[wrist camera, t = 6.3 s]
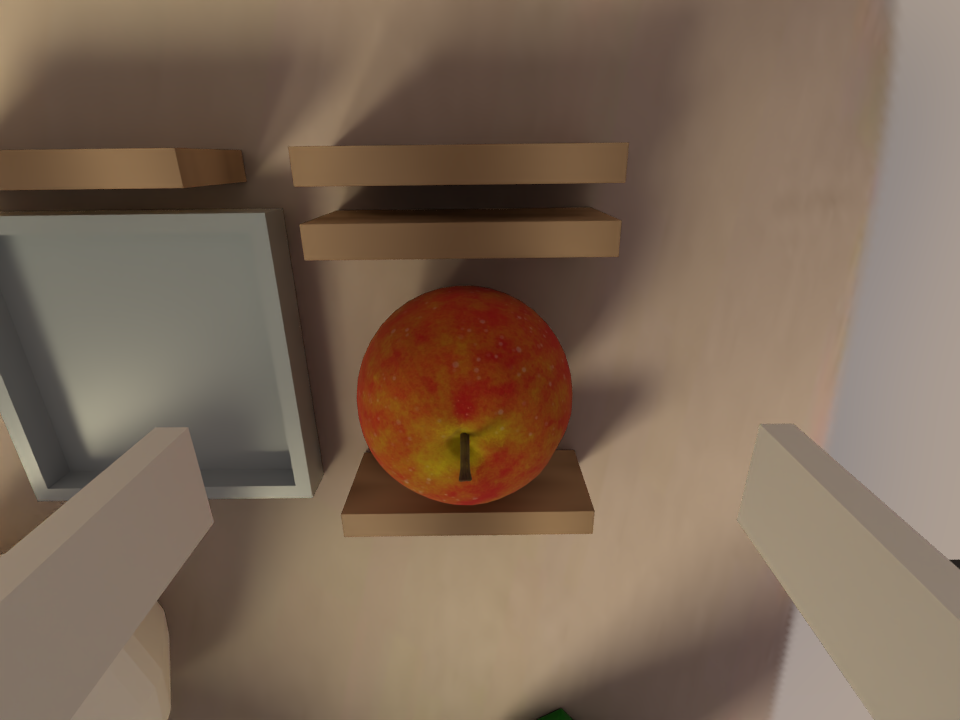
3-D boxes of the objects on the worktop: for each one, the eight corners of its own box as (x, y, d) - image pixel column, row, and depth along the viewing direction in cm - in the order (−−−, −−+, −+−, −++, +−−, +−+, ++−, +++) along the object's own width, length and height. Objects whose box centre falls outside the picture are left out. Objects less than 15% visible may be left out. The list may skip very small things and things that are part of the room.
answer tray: (67, 477, 22) (37, 501, 20) (-36, 211, 18) (-83, 216, 16) (323, 474, 22) (312, 497, 20) (282, 208, 18) (264, 212, 16)
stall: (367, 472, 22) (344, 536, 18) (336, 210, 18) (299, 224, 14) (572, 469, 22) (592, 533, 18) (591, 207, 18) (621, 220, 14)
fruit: (365, 273, 18) (290, 351, 11) (552, 258, 18) (604, 326, 11) (393, 435, 21) (347, 586, 14) (556, 423, 21) (601, 569, 13)
